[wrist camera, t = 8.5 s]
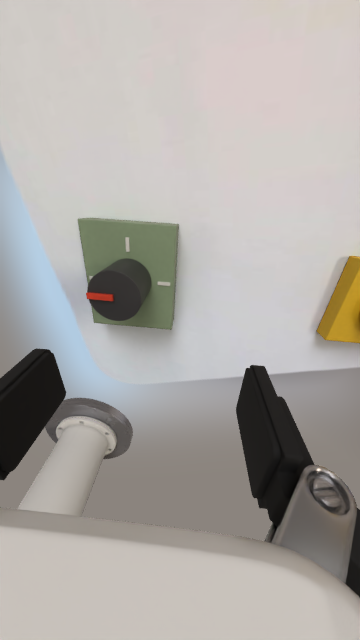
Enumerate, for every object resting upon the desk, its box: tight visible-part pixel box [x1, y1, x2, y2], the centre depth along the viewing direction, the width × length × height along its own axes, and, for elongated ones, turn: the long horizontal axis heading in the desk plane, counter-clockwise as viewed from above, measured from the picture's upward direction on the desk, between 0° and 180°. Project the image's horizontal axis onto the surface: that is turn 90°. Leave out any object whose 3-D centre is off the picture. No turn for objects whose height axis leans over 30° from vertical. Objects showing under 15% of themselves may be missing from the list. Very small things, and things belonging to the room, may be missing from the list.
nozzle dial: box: [86, 258, 152, 321], centre depth 21 cm, size 5×5×5 cm
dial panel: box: [78, 218, 179, 330], centre depth 25 cm, size 12×10×3 cm
